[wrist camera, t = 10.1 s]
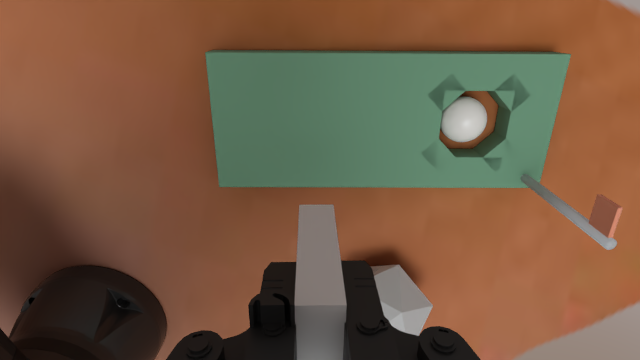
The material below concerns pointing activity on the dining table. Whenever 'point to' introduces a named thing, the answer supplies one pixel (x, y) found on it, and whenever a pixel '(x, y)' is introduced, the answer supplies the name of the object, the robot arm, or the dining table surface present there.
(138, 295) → the robot arm
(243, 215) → the dining table surface
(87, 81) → the dining table surface
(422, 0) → the dining table surface
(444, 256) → the dining table surface
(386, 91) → the mini golf green
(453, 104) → the ball
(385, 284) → the die
